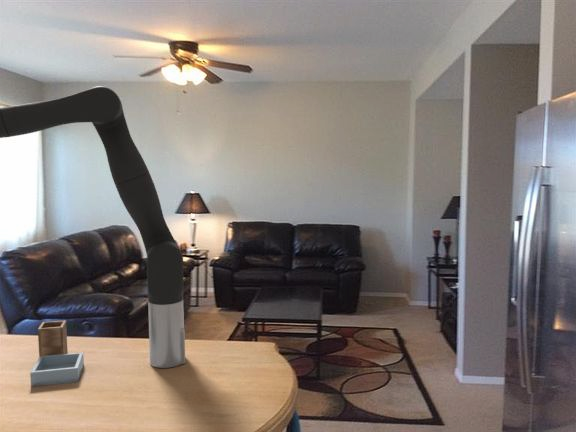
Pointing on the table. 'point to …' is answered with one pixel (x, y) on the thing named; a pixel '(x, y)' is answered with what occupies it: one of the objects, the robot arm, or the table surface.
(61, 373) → the blue crate
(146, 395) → the table surface
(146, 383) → the table surface
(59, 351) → the walnut crate
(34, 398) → the table surface
